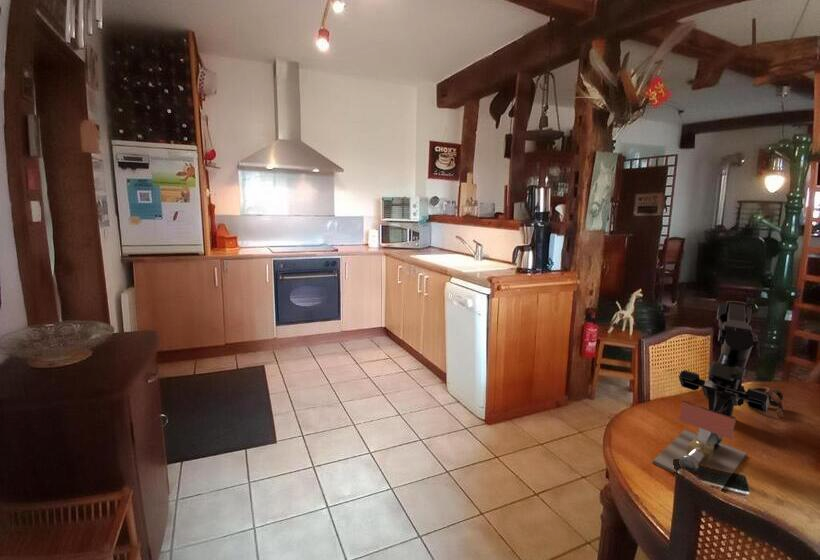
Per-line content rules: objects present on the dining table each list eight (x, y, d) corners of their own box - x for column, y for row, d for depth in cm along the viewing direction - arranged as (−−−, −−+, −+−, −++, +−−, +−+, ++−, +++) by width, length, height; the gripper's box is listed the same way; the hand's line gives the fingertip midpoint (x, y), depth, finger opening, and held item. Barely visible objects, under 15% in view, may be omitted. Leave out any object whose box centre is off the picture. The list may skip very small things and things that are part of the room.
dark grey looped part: (777, 422, 125) (763, 396, 127) (745, 421, 134) (732, 396, 135) (799, 406, 130) (785, 381, 131) (767, 405, 138) (754, 382, 140)
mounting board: (684, 432, 118) (684, 429, 118) (745, 455, 108) (746, 452, 108) (652, 463, 104) (652, 460, 104) (719, 493, 93) (720, 490, 93)
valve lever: (677, 434, 109) (684, 400, 108) (728, 454, 100) (736, 418, 99) (675, 435, 108) (682, 401, 107) (727, 455, 100) (734, 419, 98)
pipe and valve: (703, 438, 114) (705, 425, 113) (722, 446, 110) (724, 432, 109) (676, 467, 101) (678, 453, 100) (697, 477, 98) (700, 462, 97)
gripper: (686, 341, 113) (665, 390, 109) (775, 362, 99) (755, 419, 95) (691, 362, 120) (672, 409, 115) (775, 384, 106) (757, 439, 101)
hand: (711, 418), depth 106 cm, fingers closed
